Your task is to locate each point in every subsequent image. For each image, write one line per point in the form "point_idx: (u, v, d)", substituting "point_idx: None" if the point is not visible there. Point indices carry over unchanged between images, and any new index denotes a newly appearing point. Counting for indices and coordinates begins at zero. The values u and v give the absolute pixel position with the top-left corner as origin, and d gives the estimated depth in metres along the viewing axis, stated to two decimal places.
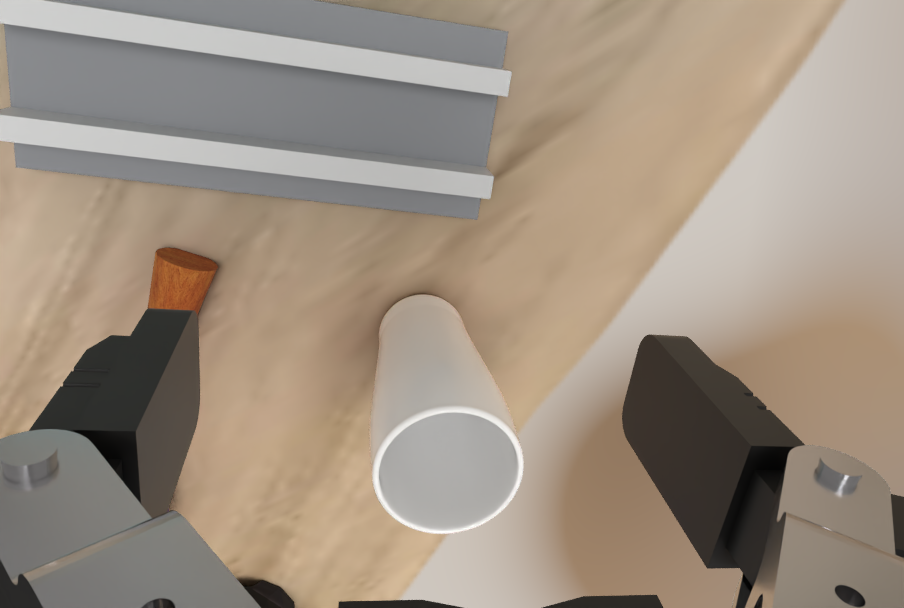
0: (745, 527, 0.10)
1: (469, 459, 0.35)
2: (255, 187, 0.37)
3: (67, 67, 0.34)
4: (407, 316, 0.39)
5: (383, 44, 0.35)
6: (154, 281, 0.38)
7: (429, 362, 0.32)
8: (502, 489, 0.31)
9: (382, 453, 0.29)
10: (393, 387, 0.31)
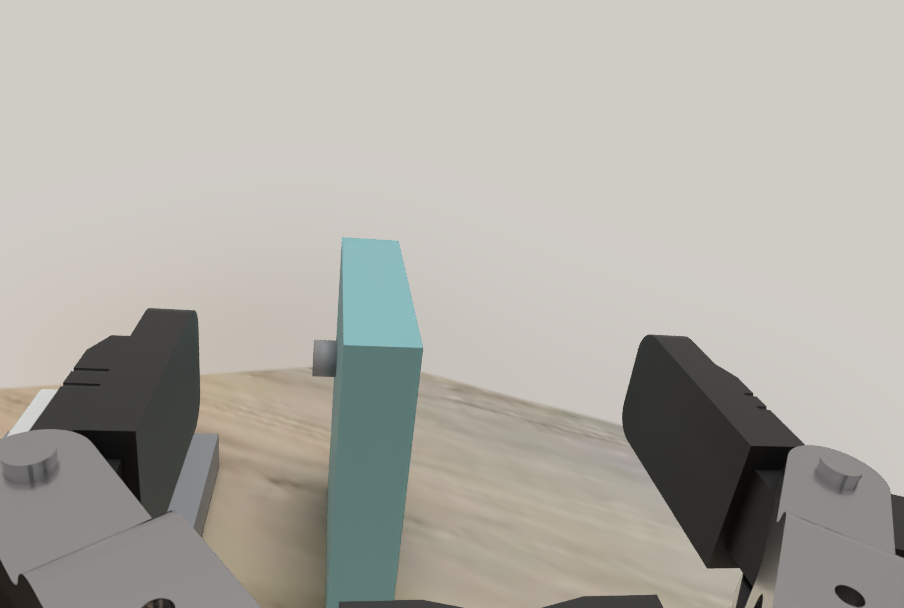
0: (745, 527, 0.10)
1: None
2: None
3: None
4: None
5: None
6: None
7: None
8: None
9: None
10: None
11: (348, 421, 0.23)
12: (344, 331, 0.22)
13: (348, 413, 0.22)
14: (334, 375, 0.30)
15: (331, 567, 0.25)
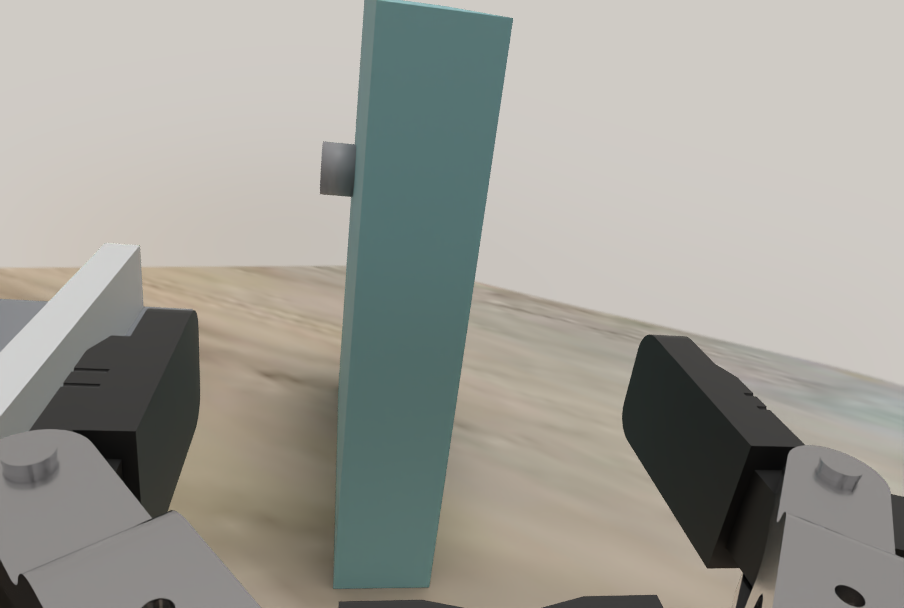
0: (745, 527, 0.10)
1: None
2: None
3: None
4: None
5: None
6: None
7: None
8: None
9: None
10: None
11: (381, 162, 0.13)
12: None
13: (381, 144, 0.13)
14: (351, 191, 0.21)
15: (347, 434, 0.16)
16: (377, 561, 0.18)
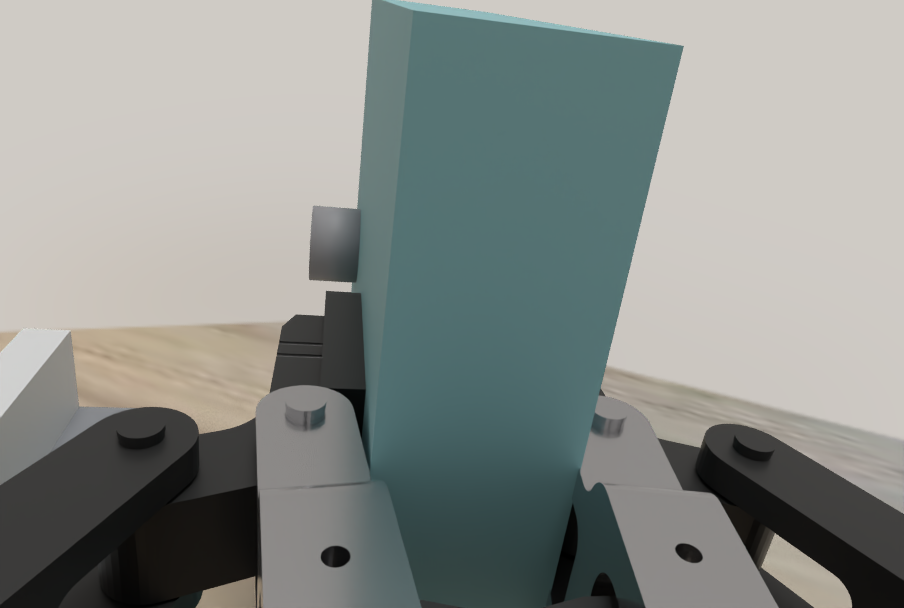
0: None
1: None
2: None
3: None
4: None
5: None
6: None
7: None
8: None
9: None
10: None
11: (416, 314, 0.07)
12: (408, 7, 0.07)
13: (417, 284, 0.07)
14: (354, 277, 0.15)
15: None
16: None
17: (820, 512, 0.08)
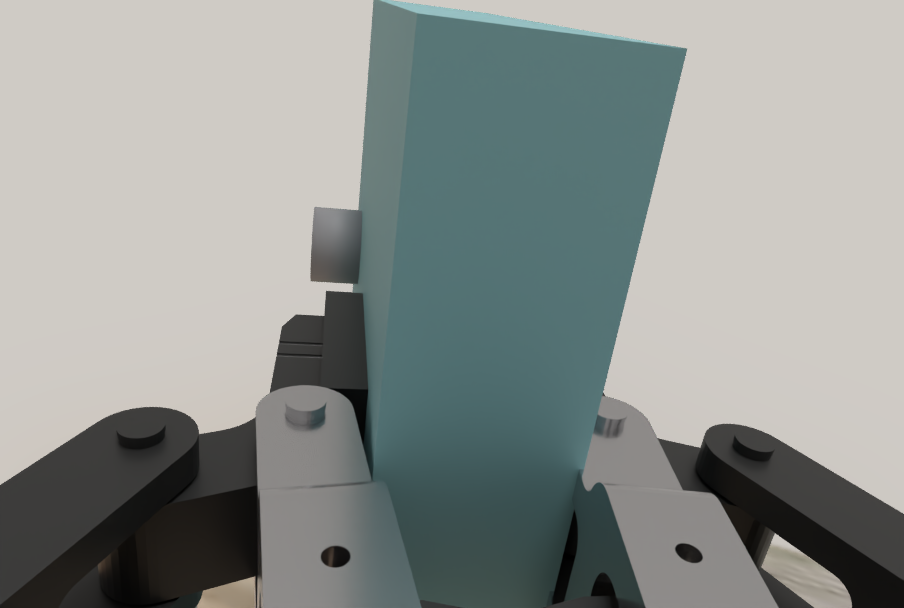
0: None
1: None
2: None
3: None
4: None
5: None
6: None
7: None
8: None
9: None
10: None
11: (419, 316, 0.07)
12: (411, 10, 0.07)
13: (420, 286, 0.07)
14: (355, 279, 0.15)
15: None
16: None
17: (820, 512, 0.08)
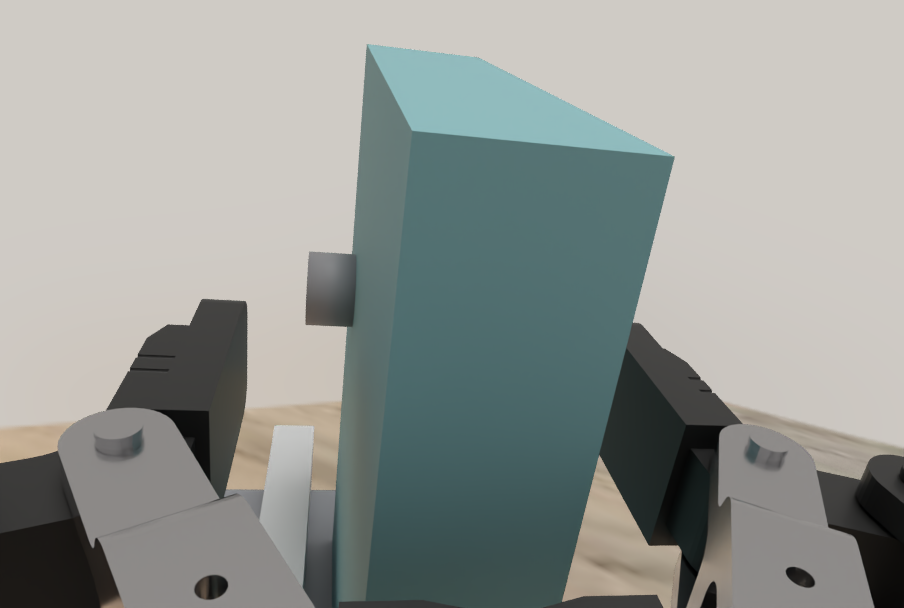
0: (682, 504, 0.10)
1: None
2: None
3: None
4: None
5: None
6: None
7: None
8: None
9: None
10: None
11: (414, 407, 0.07)
12: (406, 113, 0.07)
13: (415, 380, 0.07)
14: (350, 323, 0.15)
15: None
16: None
17: None
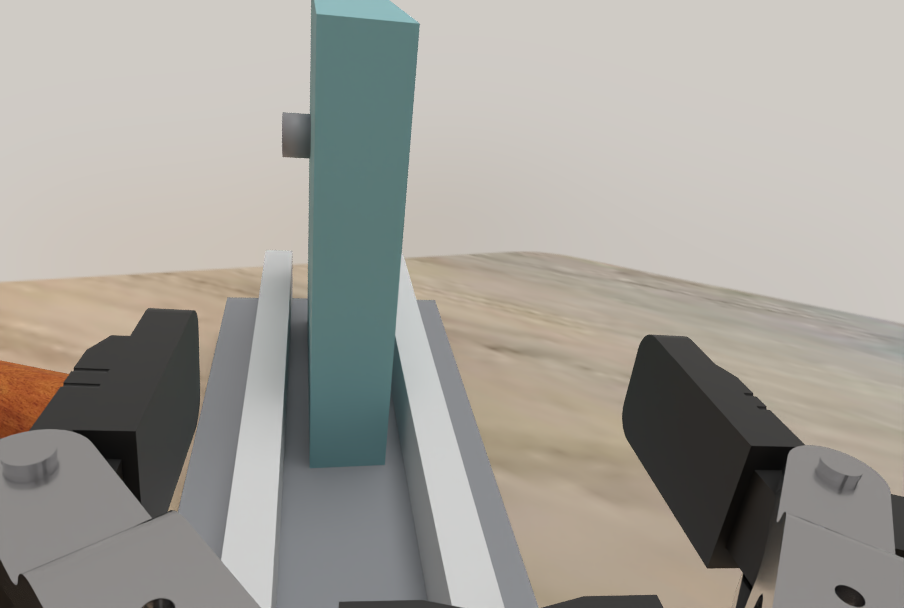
0: (745, 527, 0.10)
1: None
2: (201, 462, 0.22)
3: None
4: None
5: None
6: None
7: None
8: None
9: None
10: None
11: (327, 133, 0.18)
12: (317, 10, 0.17)
13: (326, 120, 0.18)
14: (308, 154, 0.25)
15: (313, 344, 0.21)
16: (343, 445, 0.23)
17: None
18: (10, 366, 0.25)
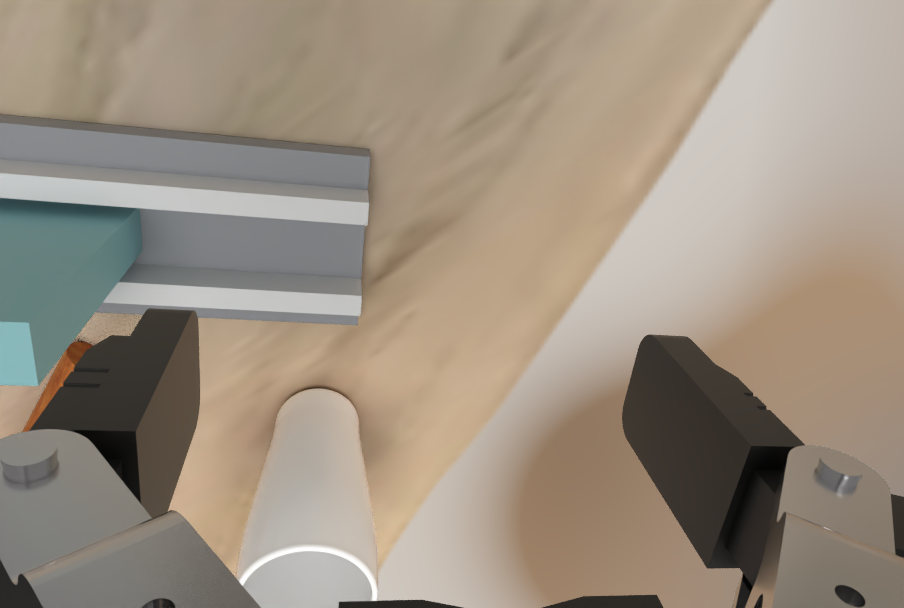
0: (745, 527, 0.10)
1: (345, 564, 0.37)
2: (137, 308, 0.38)
3: None
4: (293, 419, 0.41)
5: (248, 174, 0.36)
6: (56, 376, 0.39)
7: (294, 487, 0.34)
8: None
9: None
10: (258, 515, 0.33)
11: (66, 340, 0.27)
12: (9, 384, 0.24)
13: (63, 345, 0.27)
14: None
15: (115, 283, 0.33)
16: (136, 237, 0.36)
17: None
18: None
